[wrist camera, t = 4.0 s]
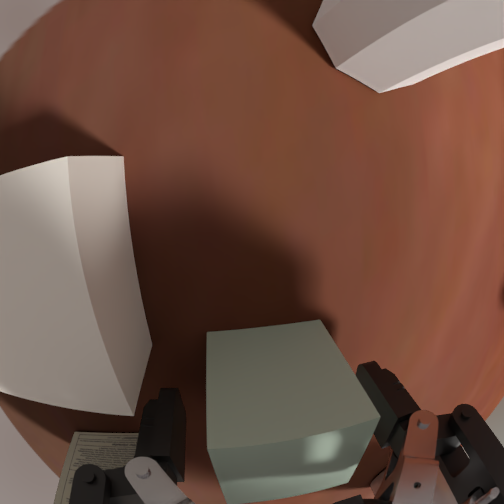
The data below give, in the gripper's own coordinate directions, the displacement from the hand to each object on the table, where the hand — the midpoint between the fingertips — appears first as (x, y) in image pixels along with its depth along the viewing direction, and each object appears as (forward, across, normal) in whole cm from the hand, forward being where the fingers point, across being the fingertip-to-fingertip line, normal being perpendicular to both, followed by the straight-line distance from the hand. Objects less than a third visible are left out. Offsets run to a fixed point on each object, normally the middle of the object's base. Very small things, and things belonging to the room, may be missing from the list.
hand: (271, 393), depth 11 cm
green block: (+2, 0, 0) cm, 2 cm away
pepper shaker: (+2, -5, -15) cm, 16 cm away
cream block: (+2, +9, -6) cm, 11 cm away
